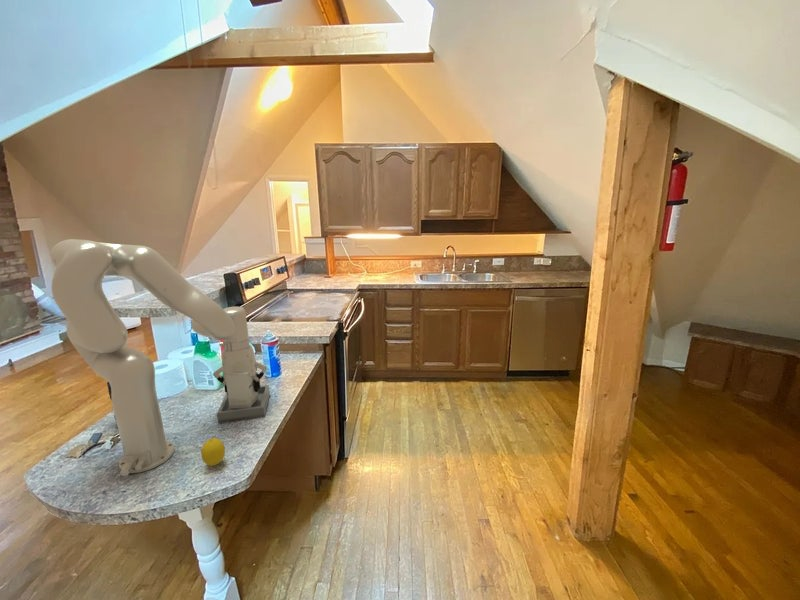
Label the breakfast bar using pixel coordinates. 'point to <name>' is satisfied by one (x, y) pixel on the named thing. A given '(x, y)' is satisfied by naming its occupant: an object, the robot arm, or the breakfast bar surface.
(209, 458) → the lemon
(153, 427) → the robot arm
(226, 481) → the breakfast bar surface
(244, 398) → the supplement box
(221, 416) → the tray
